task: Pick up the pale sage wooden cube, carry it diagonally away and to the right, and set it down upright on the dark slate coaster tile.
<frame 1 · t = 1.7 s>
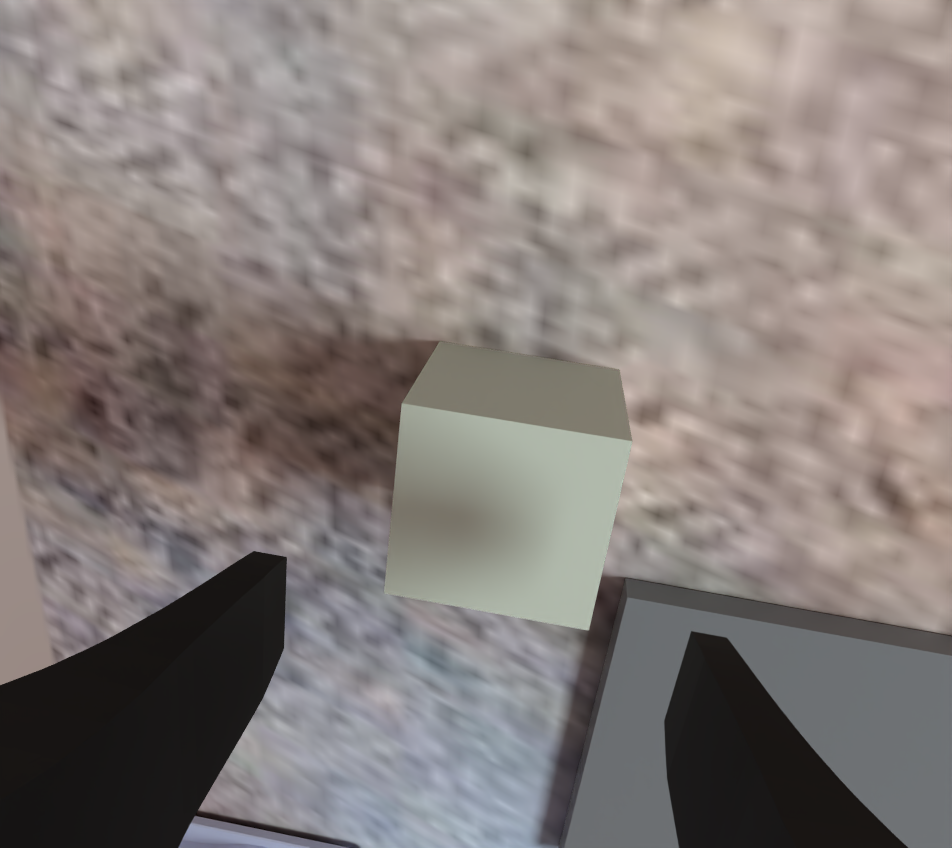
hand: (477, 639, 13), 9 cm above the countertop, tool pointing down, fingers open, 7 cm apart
slate tile: (768, 759, 25), on the countertop
cube: (515, 436, 21), on the countertop
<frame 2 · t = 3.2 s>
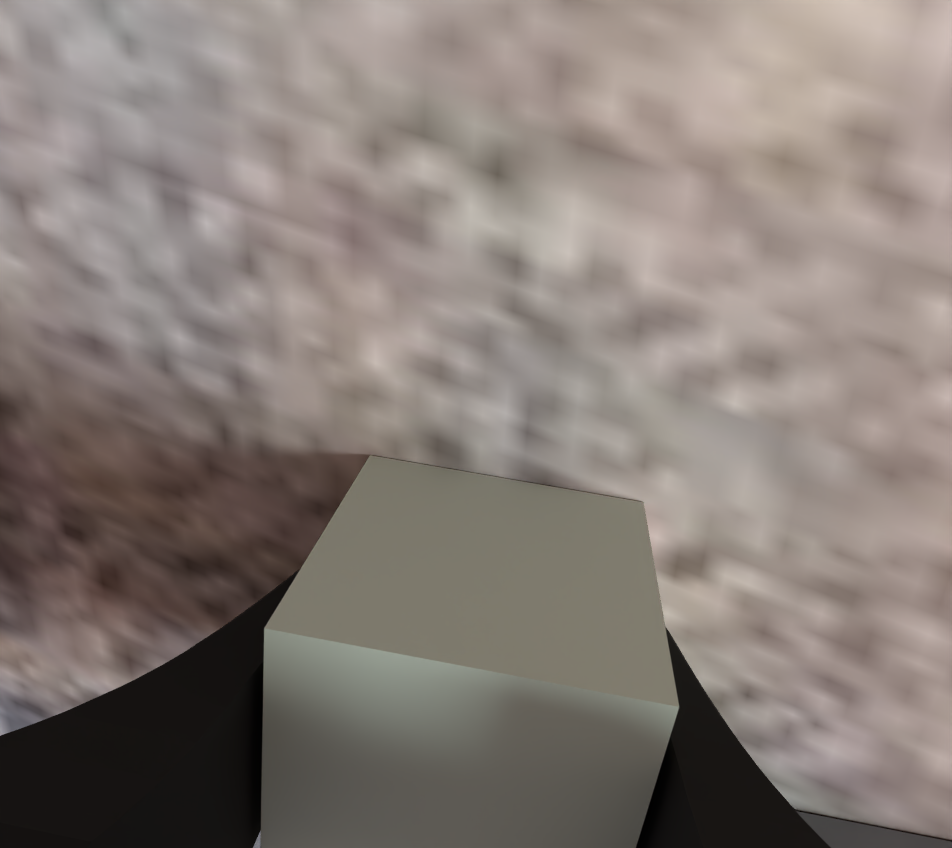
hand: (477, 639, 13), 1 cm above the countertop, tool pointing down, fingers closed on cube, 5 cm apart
cube: (486, 592, 14), on the countertop, touching gripper
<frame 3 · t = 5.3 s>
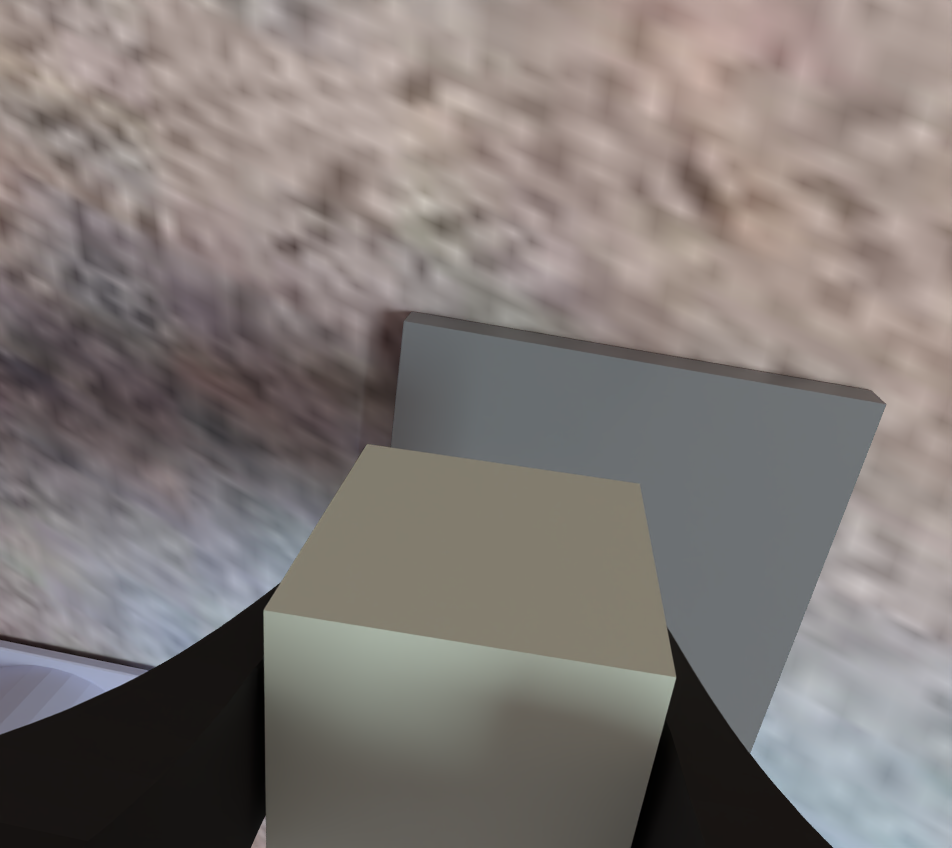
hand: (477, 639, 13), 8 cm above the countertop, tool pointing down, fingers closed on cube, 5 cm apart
slate tile: (591, 544, 22), on the countertop
cube: (486, 578, 14), point 7 cm above the countertop, touching gripper
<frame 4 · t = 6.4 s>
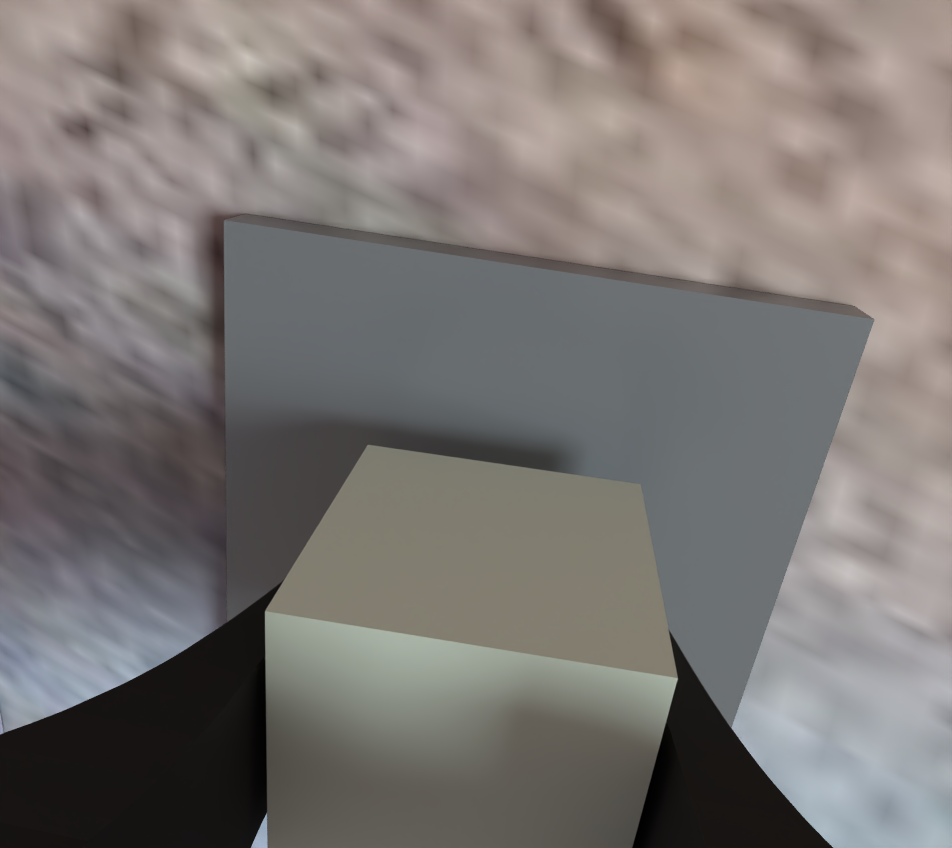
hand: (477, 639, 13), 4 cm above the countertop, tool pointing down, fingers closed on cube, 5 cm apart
slate tile: (499, 522, 17), on the countertop
cube: (487, 578, 14), point 3 cm above the countertop, touching gripper
when the fingers open (4 cm above the countertop, at t = 7.3 s): cube drops 1 cm, resting on slate tile.
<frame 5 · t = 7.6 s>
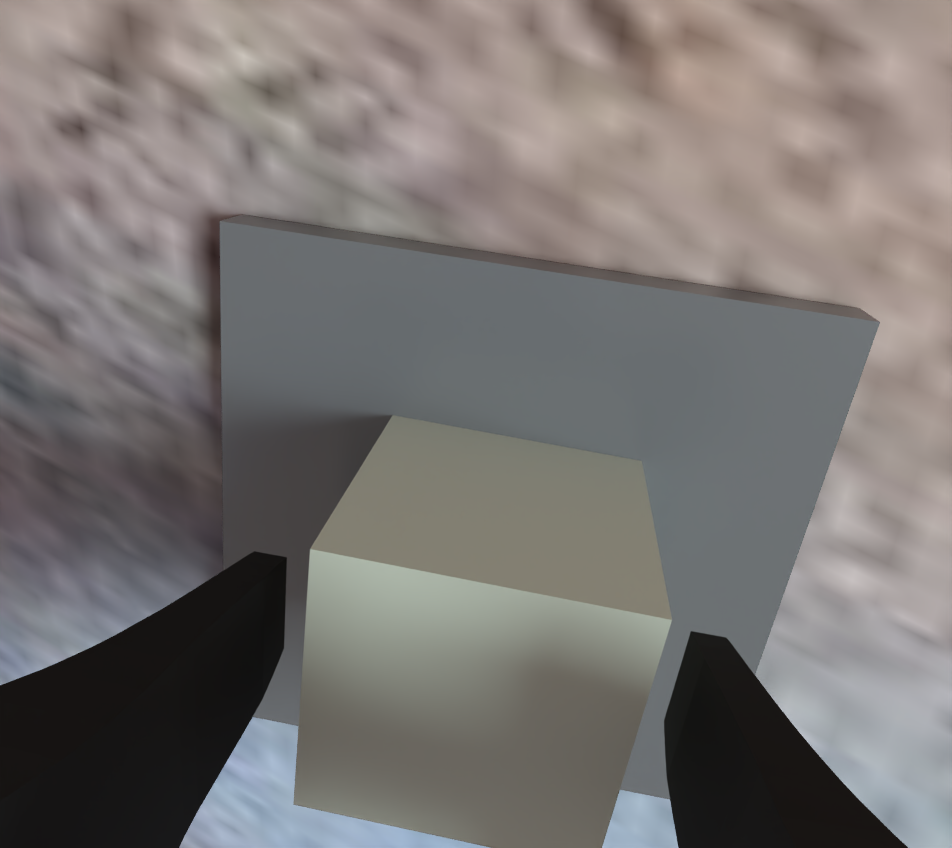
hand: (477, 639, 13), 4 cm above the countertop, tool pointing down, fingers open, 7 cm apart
slate tile: (499, 526, 17), on the countertop
cube: (496, 544, 16), point 1 cm above the countertop, touching slate tile
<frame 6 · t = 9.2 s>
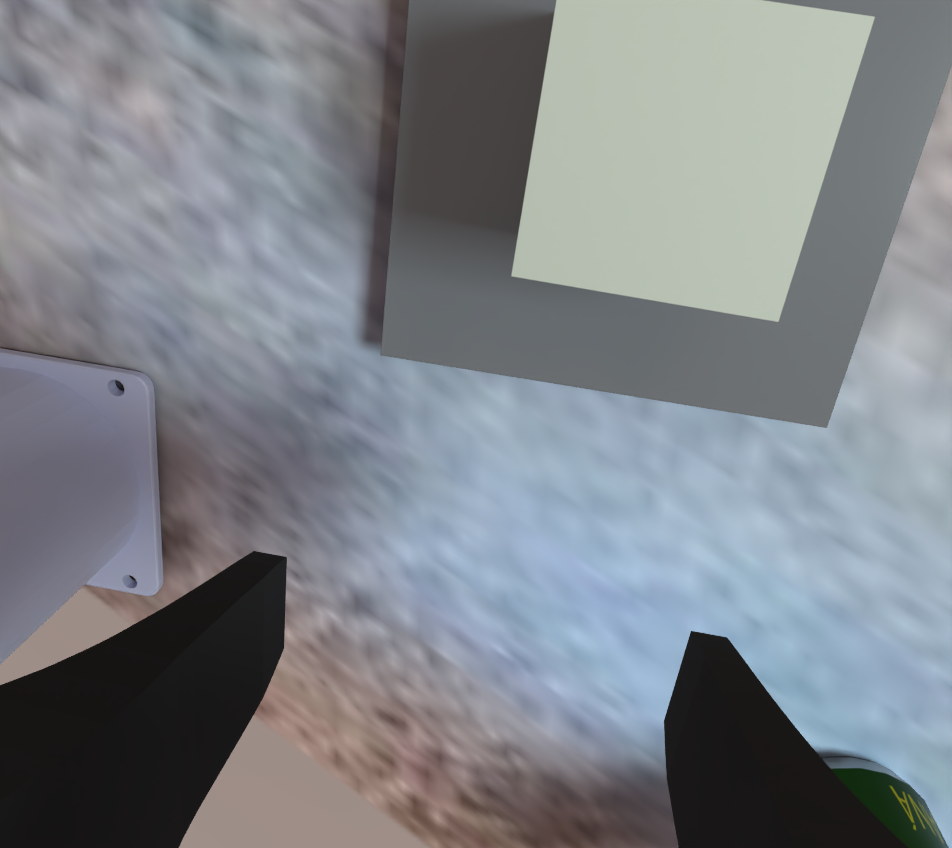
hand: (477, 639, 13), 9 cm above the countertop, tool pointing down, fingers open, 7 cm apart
beer can: (835, 803, 26), on the countertop
slate tile: (644, 152, 18), on the countertop
cube: (650, 147, 17), point 1 cm above the countertop, touching slate tile
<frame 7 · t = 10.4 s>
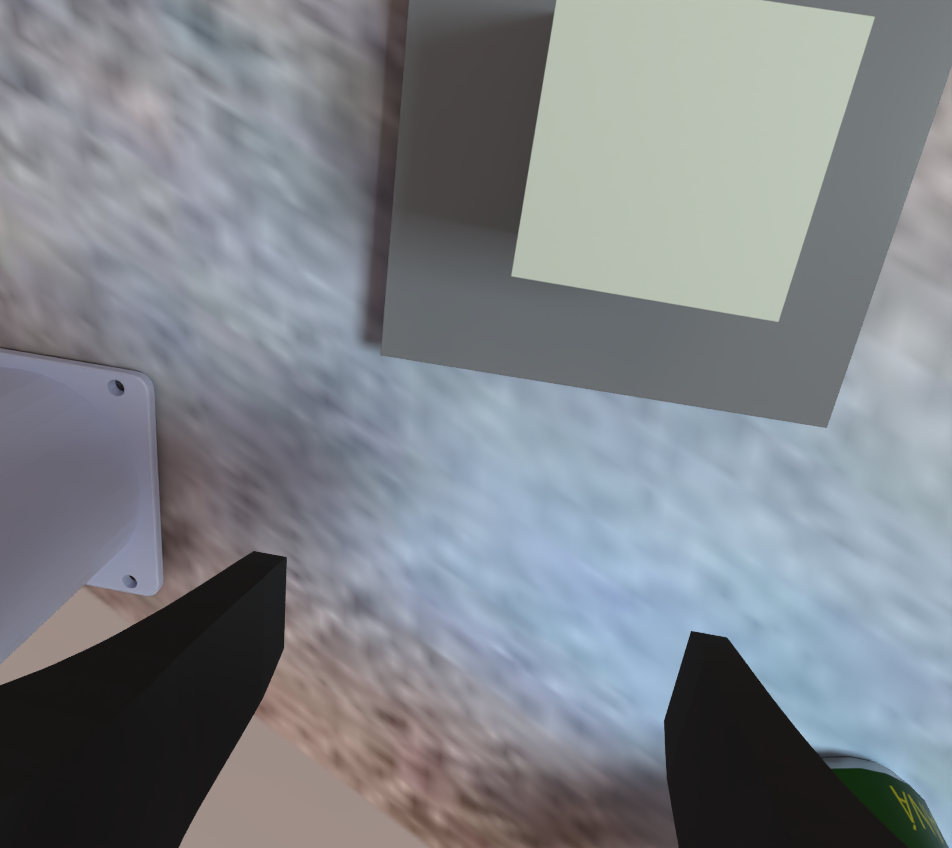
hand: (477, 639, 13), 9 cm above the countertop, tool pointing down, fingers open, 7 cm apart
beer can: (835, 803, 26), on the countertop
slate tile: (644, 152, 18), on the countertop
cube: (650, 147, 17), point 1 cm above the countertop, touching slate tile
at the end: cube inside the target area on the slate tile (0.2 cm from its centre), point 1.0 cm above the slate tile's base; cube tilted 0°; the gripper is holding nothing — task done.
